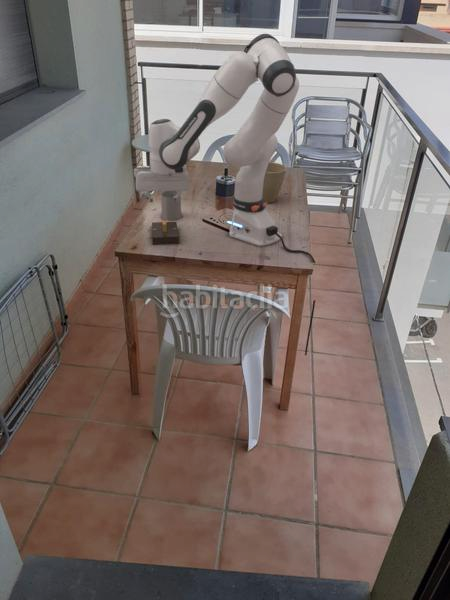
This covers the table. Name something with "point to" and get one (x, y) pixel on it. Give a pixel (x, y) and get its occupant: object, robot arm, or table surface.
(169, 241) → the lock plate
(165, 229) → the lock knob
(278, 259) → the table surface
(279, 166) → the plant pot
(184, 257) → the table surface
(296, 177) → the table surface
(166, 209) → the cup
